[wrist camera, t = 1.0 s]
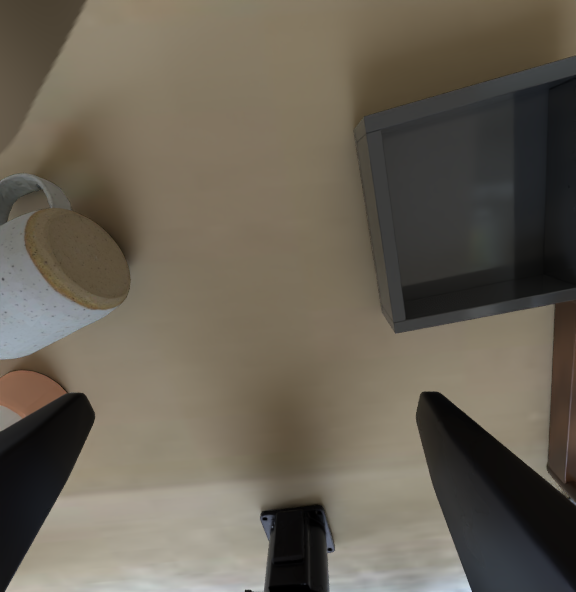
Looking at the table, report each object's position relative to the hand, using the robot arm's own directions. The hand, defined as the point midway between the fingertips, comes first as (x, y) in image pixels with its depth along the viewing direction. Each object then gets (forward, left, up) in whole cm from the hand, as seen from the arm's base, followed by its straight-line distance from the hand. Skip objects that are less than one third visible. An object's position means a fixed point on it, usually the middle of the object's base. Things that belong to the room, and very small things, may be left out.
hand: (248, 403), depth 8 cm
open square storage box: (+1, -12, -15) cm, 19 cm away
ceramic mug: (+5, +15, -15) cm, 22 cm away
